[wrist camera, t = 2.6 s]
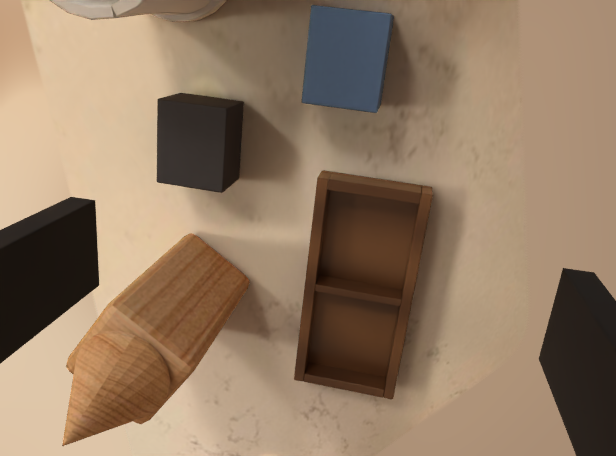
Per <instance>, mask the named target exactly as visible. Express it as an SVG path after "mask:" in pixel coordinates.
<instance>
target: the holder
mask: <svg viewBox="0 0 616 456" xmlns="http://www.w3.org/2000/svg"><path fill="white" fill-rule="evenodd" d="M432 197H433V194H432V187H429V186H422V185H416V184H409V183H402V182H396V181H389V180H383V179H376V178H369V177H363V176H356V175H349V174H343V173H336V172H329V171H322V172H321V174H320V175H319V177H318V179H317V187H316V196H315V204H314V213H313V222H312V230H311V239H310V247H309V256H308V264H307V273H306V282H305V290H304V299H303V307H302V316H301V324H300V333H299V342H298V350H297V359H296V367H295V376H294V380H298V381H304V382H309V383H314V384H318V385H323V386H328V387H333V388H338V389H343V390H348V391H353V392H358V393H363V394H368V395H373V396H378V397H384V398H388V399H393V397H394V392H395V386H396V381H397V376H398V371H399V366H400V361H401V356H402V351H403V345H404V340H405V335H406V330H407V325H408V320H409V315H410V310H411V305H412V299H413V294H414V289H415V284H416V279H417V274H418V269H419V264H420V259H421V253H422V248H423V243H424V238H425V233H426V228H427V223H428V218H429V213H430V207H431V202H432Z"/></svg>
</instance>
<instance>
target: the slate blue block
mask: <svg viewBox="0 0 616 456" xmlns="http://www.w3.org/2000/svg"><path fill="white" fill-rule="evenodd" d="M393 20H394V16H393V15H392V14H389V13H380V12H371V11H362V10H353V9H344V8H335V7H326V6H317V5H312V6H311V13H310V23H309V33H308V43H307V53H306V63H305V73H304V83H303V92H302V103H306V104H313V105H320V106H328V107H335V108H343V109H350V110H358V111H365V112H372V113H377V112H378V109H379V107H380V105H381V100H382V93H383V87H384V80H385V73H386V67H387V60H388V53H389V47H390V40H391V34H392V27H393Z"/></svg>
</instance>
